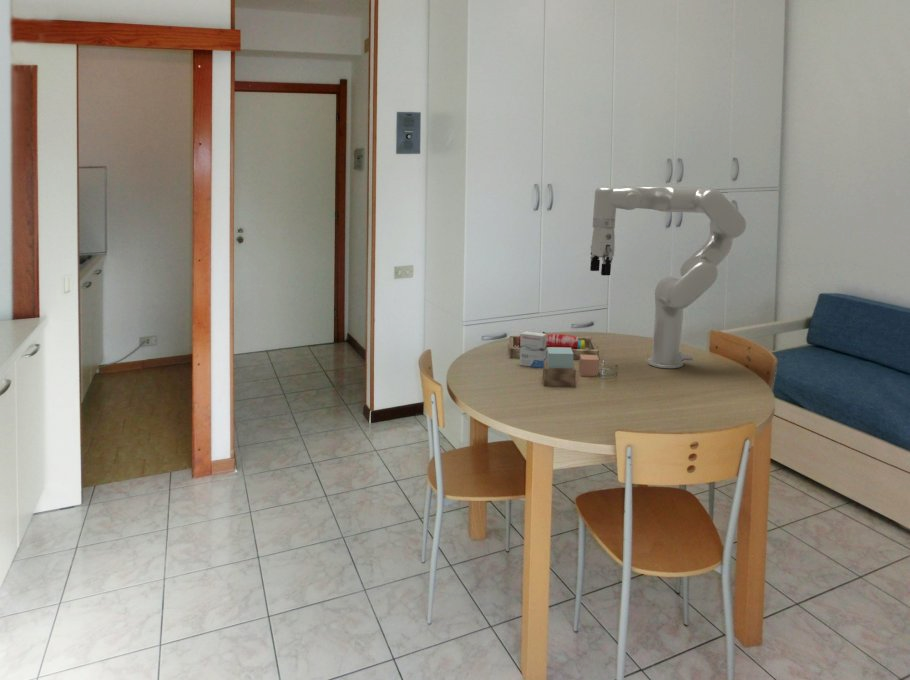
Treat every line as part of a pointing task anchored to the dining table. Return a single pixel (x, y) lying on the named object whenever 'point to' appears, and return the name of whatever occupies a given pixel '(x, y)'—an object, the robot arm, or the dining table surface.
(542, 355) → the ink box
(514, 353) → the bottle cradle
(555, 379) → the walnut block
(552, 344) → the water bottle
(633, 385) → the dining table surface
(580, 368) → the rust cube
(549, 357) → the teal block
